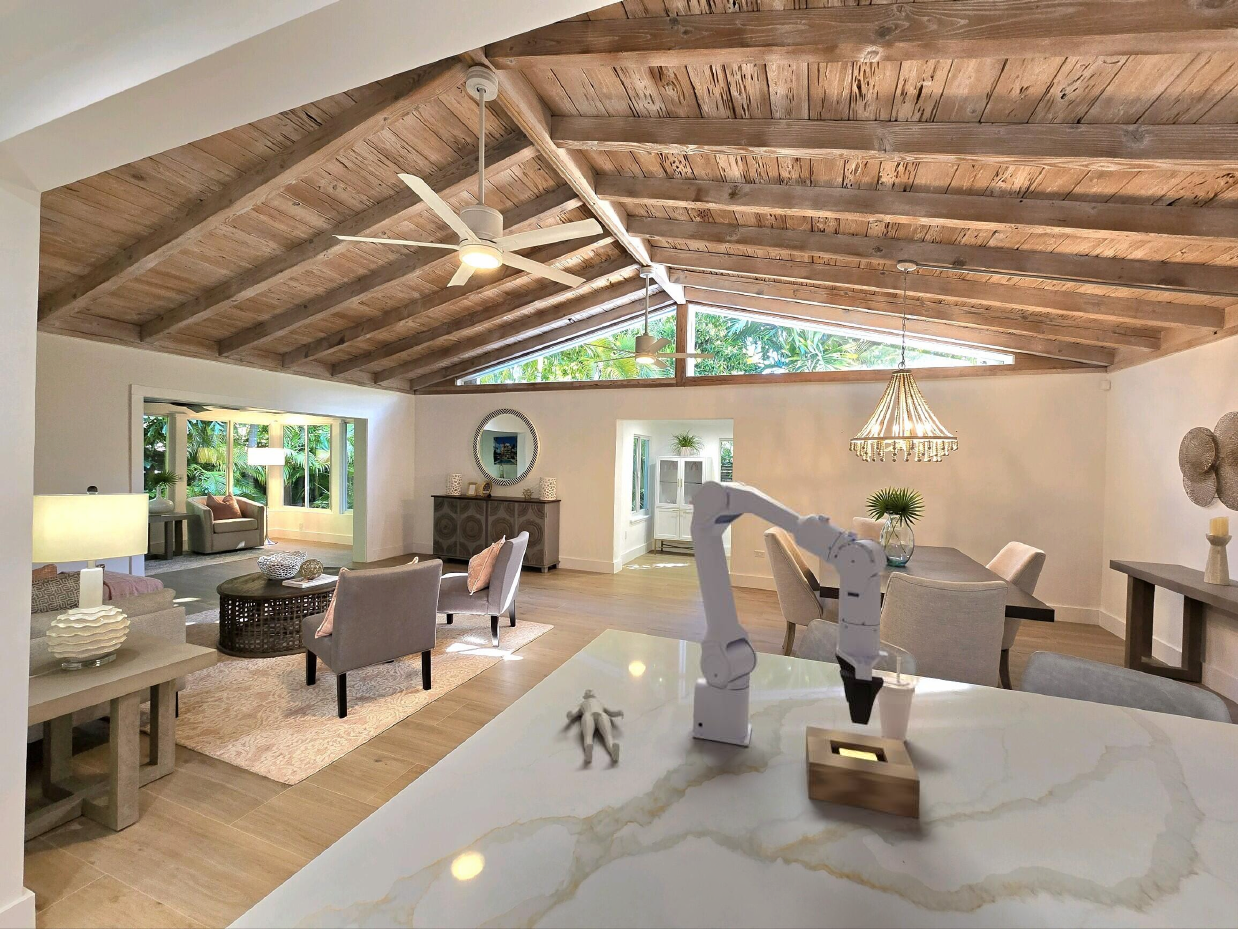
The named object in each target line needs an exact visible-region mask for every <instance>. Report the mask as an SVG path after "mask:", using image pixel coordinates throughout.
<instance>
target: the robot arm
mask: <svg viewBox="0 0 1238 929" xmlns="http://www.w3.org/2000/svg"><path fill="white" fill-rule="evenodd" d="M691 502H692V507H693V513H692V517H691V522H690V527H689V528H690V529H689V530H690V536H691V542H692V547H693V549H692V550H693V554H694V559H695V560H694V561H695V563H696V564H695V565H696V570H697V577H698V582H699V588H700V591H701V597H702V602H703V603H702V604H703V607H704V614H705V619H706V620H705V621H706V625H707V628H706V631H705V632H704V634H703V637H702V638H701V641H700V646H701V655H700V660H699V661H700V662H699V667H700V671H701V673H702V676H703V677H697V678H696V680H695V685H694V696H693V714H692V715H693V716H692V717H693V718H692V737H693V738H697V739H704V740H708V741H715V742H722V743H727V744H733V745H739V746H745V747H748V746H749V745H750V739H751V734H752V729H753V728H752V727H753V726H752V724H751V723H749V712H750V711H749V710H750V708H749V707H750V680H751V673H752V672H754V670H755V669H756V667H757V664H758V655H757V654H758V653H757V651H756V649H755V647H754V646H753V644H752V643H751V641H750V638H749V634H748V631H747V629H745V628H744V627H743V626H742V625H741V624H740V623H739V620H738V619H739V618H738V615H737V614H738V613H737V609H736V604H735V598H734V594H733V593H734V592H733V587H732V584H731V582H732V581H731V577H730V572H729V567H728V562H727V557H726V552H725V546H724V542H723V534H724V533H725V532H726V531H727V529H728V528H729V526H730V525H731V524H732V523H733V522H735V521H736V520H738V519H739V518H740V517H741V516H743V515H744V514H752V515H753V516H756V517H758V518H761V519H762V520H763V521H766V522H768V523H770V524H772V525H774V526H776V527H778V528H780V529H782V530H784V531H786V532H787V533H790V534H792V535H793V538H794V542H795V544H796V546H797V547H799V548H801V549H803V550H804V551H805V552H806V551H807V552H808V553H810V554H812V555H814V556H816V557H817V558H818V559H821V560H822V561H824V562H826V563H827V564H830V565H831V566H834V569H835V570H836V573H837V574H838V575H839V588H838V589H839V590H838V592H839V594H838V624H837V625H838V626H837V627H838V629H837V646H836V648H835V654H834V656H835V659H836V661H837V662H838V665H839V668H840V669H839V676H840V678H841V681H842V683H843V689H844V690H843V692H844V697H845V700H846V703H848V709H849V716H850V720H851V723H852V724H857V725H858V724H859V725H865V726H867V725H868V724H869V722H870V718H871V715H872V711H873V706H874V704H875V700H876V698H877V697H878V692H879V690H880V689H881V688H882V686H883V684H884V680H883V678H882V677H880V676H874V675H873V667H875V665H877V663H878V662H879V661H880V660H883V661H887V660H889V654H888V652H886V651H883V650H882V651H881V650H880V643H881V642H880V636H881V631H880V630H881V602H882V592H881V586H882V585H881V582H882V581H881V580H882V577H881V576H882V575H881V573H882V572H883V571H884V570H885V569H886V565H887V563H888V562H887V561H888V558H887V553H886V551H885V550H884V547H883V546H881V545H880V543H878V542H877V541H875V540H874V539H873V538H870V537H862V538H858V534H859V533H858V532H856V531H855V530H846V529H844V528H842V527H841V526H838V525H836V524H834V523H833V522H831V521H830V519H831V518H830V516H828V515H826V514H824V513H823V514H818V515H817V514H815V513H811V514H809V515H805V516H802V514H800V513H797V511H795V510H793V509H792V508H791V509H790V508H789V507H788V506H786V505H784V504H782V503H781V502H779V501H777V500H776V499H773V498H772V497H770V496H769V495H767V494H766V493H764V492H762V491H760V490H759V489H758V488H756V487H753V486H750V485H747V484H745V483H744V482H742V481H737V480H736V481H716V480H707V481H704V482H703V483H702V484H700V486H699V487H698V488H697V490H695V492H694V494H693V495H692V497H691Z"/></svg>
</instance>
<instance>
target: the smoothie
mask: <svg viewBox="0 0 1238 929" xmlns="http://www.w3.org/2000/svg"><path fill="white" fill-rule="evenodd" d="M879 677H882V678H883V680H884V684H883V686H882V688H881V689H880V690H879V692H878V694H877V698H878V699H877V702H878V709H879V710H878V712H879V719H880V730H881V737H882V736H883V737H882V738H888V739H894V740H901V741H903V743H904V742H906V738H907V733H908V732H907V731H908V725H909V720H910V714H911V707H912V703H913V702H912V700H913V694H915V693H916V685H915V684H914V682H912V681H909V680H907V679H904V678H902V677H901V657H896V676H889V675H882V676H879Z"/></svg>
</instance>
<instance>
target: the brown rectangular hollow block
mask: <svg viewBox="0 0 1238 929" xmlns="http://www.w3.org/2000/svg"><path fill="white" fill-rule="evenodd" d="M839 748H840V749H847V750H854V751H860V752H867V753H873V754H875V755H876V758H877V760H878V761H875V760H869V759H863V758H857V757H851V756H845V755H839ZM805 764H806V767H805V768H806V782H807V795H808V796H807V797H808V798H809V799H813V800H819V801H823V802H828V803H829V802H830V803H836V804H840V805H846V806H852V807H854V808H855V807H856V808H862V809H867V810H872V811H878V812H882V813H883V812H884V813H888V814H892V815H898V816H902V817H903V816H904V817H909V818H914V819H919V818H920V795H921V794H920V792H921V789H920V788H921V787H920V786H921V785H920V783H921V781H920V778H919V776H918V773H917V771H916V769H915V767H914V764H913V762H912V760H911V758H910V755H909V752H908V750H907V749H906V746H905V744H904V742H903V741H901V740H894V739H888V738H883V737H882V736H874V735H865V734H862V733H861V734H860V733H856V732H855V733H854V732H849V731H848V732H847V731H841V730H834V729H827V728H824V727H823V728H821V727H815V726H809V725H806V737H805Z"/></svg>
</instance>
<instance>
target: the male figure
mask: <svg viewBox="0 0 1238 929" xmlns="http://www.w3.org/2000/svg"><path fill="white" fill-rule="evenodd" d="M582 699H584V700H582V702H580V703H579V704H578V705H576V706H575V707H574V708H573V709H572V710H568V711H567V712H566V714H565V717H566V719H567V720H568V721H571V720H574V719H575V718H577V717H581V720H580V723H581V724H580V725H581V726H580V727H581V730H582V734H583V747H584V749H585V751H584V759H585V762H586V763H592V761H593V751H594V743H593V742H594V740H593V739H594V738H593V737H594V733H595V730H598V731H599V732H600V734H601V736H603V739H604V744H605V747H606V749H607V751H608V753H610V755H611V759H612V761H613V762H618V761H619V759H620V750H621V748H620V744H619V743H618V742H617V741H614V738H613V731H612V730H613V729H612V723H611V719H610V718H613V719H614V718H619V717H621V719H622V720H624V717H625V716H624V715H625V713H624V711H623V710H622V709H618V710H617V709H616V710H615V709H612V708H611V707H609V706H608V705H606V704H605V703H603V702H602V701H600V699H597V696H596V694H595V692H594V690H593V689H592V688H588V689H586V690H585V691H584V695H583V696H582Z"/></svg>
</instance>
